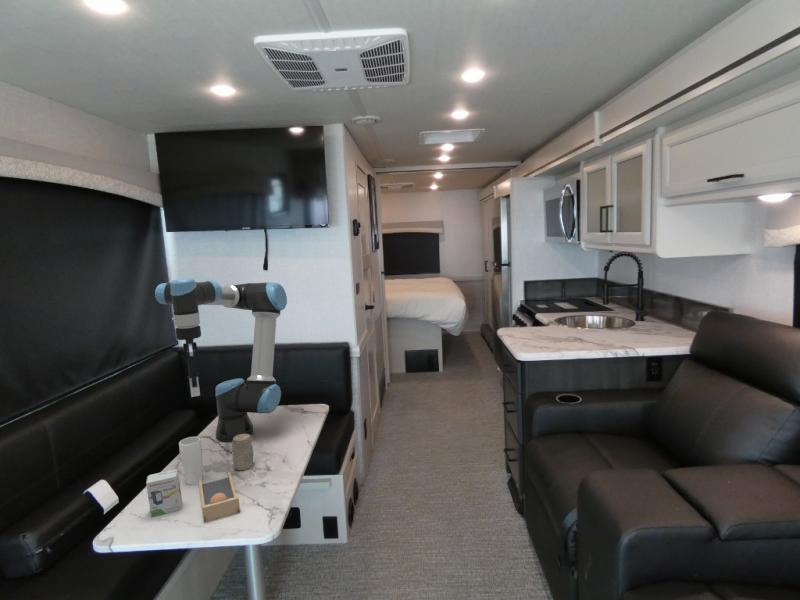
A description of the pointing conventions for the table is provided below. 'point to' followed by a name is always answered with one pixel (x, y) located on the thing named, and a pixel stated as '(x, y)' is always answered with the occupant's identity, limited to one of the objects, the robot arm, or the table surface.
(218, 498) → the ball
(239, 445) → the carving
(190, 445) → the drinking glass
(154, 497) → the ink box
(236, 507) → the lane
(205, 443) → the table surface
